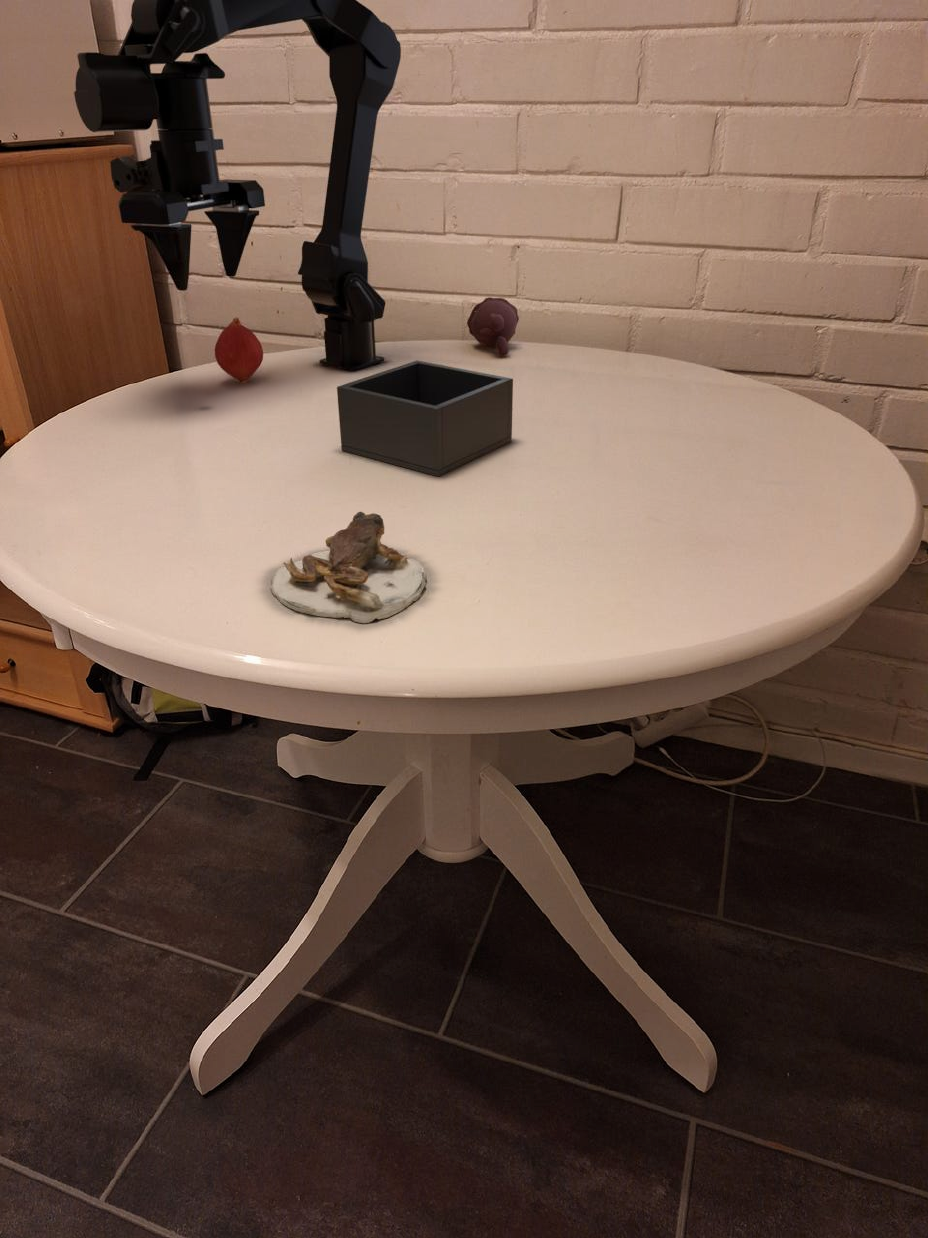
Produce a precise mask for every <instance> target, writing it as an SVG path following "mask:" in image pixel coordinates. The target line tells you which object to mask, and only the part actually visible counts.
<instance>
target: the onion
mask: <svg viewBox="0 0 928 1238" xmlns="http://www.w3.org/2000/svg"><path fill="white" fill-rule="evenodd" d="M260 341H261V340H259V339H258V337H257V335H256V334H255V333H254V332H253V331H252V330H251V329H249V328H247V327H246V326H244V325H243V324H242V323H241V321H240V318H239V317H233V319H232V321H231V322H229V324H228V325H227V326H226V327H225V328H224V329H223V330H222V331H221V333H220V334H219V336H218V338H217V341H216V342H215V346H214V357H215V360H216V363H217V364H218V366H219V367H220V369H222V370H223V371H224V373H226V374H227V375H229V376H230V377H232V378H233V379H235V380H236V381H238V382H239V383H241V384H242V383H247V382H248V381H249V380H250V378H251V377H252V376H253V375H254V374H255V373H256V371H258V369H259V368H260V367H261V364H262V362H263V360H264V349H263V347H262V344H261V342H260Z"/></svg>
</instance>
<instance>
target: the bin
mask: <svg viewBox="0 0 928 1238" xmlns="http://www.w3.org/2000/svg"><path fill="white" fill-rule="evenodd" d="M513 392H514V378H513V377H507V376H501V375H495V374H490V373H485V372H480V371H475V370H470V369H465V368H459V367H454V366H450V365H449V366H448V365H443V364H438V363H433V362H427V361H423V360H417V359H416V360H414V361H411V362H408V363H405V364H402V365H399V366H395V367H393V368H390V369H387V370H384V371H381V372H378V373H375V374H372V375H368V376H365V377H363V378H359V379H356V380H354V381H351V382H348V383H347V382H346V383H344V384H341V385H338V386H336V393H337V406H338V407H337V408H338V418H339V433H340V448H341V451H343V452H347V453H350V454H353V455H358V456H361V457H365V458H369V459H372V460H376V461H380V462H383V463H387V464H389V465H395V466H398V467H402V468H405V469H409V470H413V471H416V472H420V473H424V474H427V475H431V476H435V477H440V476H442V475H444V474H447V473H449V472H451V471H452V470H454V469H457V468H460V466H463V465H465V464H467V463H469V462H472V461H474V460H476V459H477V458H480V457H481V456H484V455H486V454H488V453H490V452H492V451H494V450H496V449H499V448H501V447H503V446H504V445H506V444H508V443H510V442H512V440H513V403H514V401H513V398H514V393H513Z"/></svg>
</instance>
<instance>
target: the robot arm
mask: <svg viewBox="0 0 928 1238" xmlns="http://www.w3.org/2000/svg"><path fill="white" fill-rule="evenodd" d="M130 11H131V12H130V19H131V23H130V26H129V28H128V29H127V32H126V35H125V37H124V39H123V42H122V44H121V45H120V48H119V50H118V53H117V55H116V54H104V53H101V52H96V51H95V52H91V51H87V52H78V53H77V55H76V57H77V63H78V69H77V71H76V74H75V90H74V92H73V95H74V100H75V105H76V108H77V109H76V110H77V111H78V114H79V117H80V119H81V121H82V123H83V124H84V126H85V127H86V128H87V129H88V130H89V132H92V133H106V132H107V133H110V132H112V133H113V132H133V131H135V132H137V131H147V130H149V129H151V127H152V125H153V122H154V120H155V121H156V128H157V135H158V139H157V140H150V144H149V152H150V157H148V158H146V159H144V160H137V161H135V160H134V159H133V157H131V156H129V155H127V156H126V155H125V156H117V157H116V158H113V159H111V160H110V161H109V164H110V165H109V166H110V174H111V175H110V176H111V180H112V183H113V187H114V189H115V190H116V191H117V192H119V193H121V194H122V195H121V197H120V198H119V200H118V202H117V206H118V210H119V216H120V222H121V223H122V224H130V227H131V229H132V230H133V231H135V232H140V233H141V234H143V235H144V236H145V237H146V238H147V239H148V240H150V241H151V243H152V244H153V246H154V248H155V250H156V251H157V252H158V254H159V256H160V259H161V261H162V262H163V264H164V266H165V268H166V270H167V272H168V274H169V276H170V278H171V280H172V282H173V284H174V286H175V288H176V290H177V291H182V292H185V291H188V287H189V277H190V263H191V260H190V259H191V245H192V227H193V225H192V224H191V223H184V222H186V220H187V218H188V216H189V212H194V211H198V210H204V214H205V215H206V217H207V218H208V219H209V220H210V222H211V223H212V224H213V226H214V227H215V230H216V236H217V241H218V247H219V251H220V255H221V262H222V265H223V269H224V273H225V276H227V277H231V278H233V277H236V275H237V272H238V269H239V266H240V263H241V260H242V257H243V254H244V250H245V247H246V245H247V241H248V238H249V236H250V233H251V231H252V228H253V225H254V223H255V220H256V218H257V217H259V216H260V210H257V208H262V207H266V201H265V193H264V188H263V187H262V186H261V185H260V183H259V182H258V181H257V180H256V179H229V178H227V179H225V178H224V179H220V171H219V164H218V157H217V151H222V150H223V151H224V150H225V148H224V147H225V146H224V141H223V140H224V139H223V138H215V135H214V134H215V133H214V127H213V119H212V112H211V104H210V96H209V88H208V80H224V79H225V77H226V72H225V71H224V70H223V69H222V68H221V67H220V66H219V65H217V64H216V63H215V62H214V61H213V60H212V59H211V57H210V56H209V54H208V53H207V52H199V51H201V50H203V49H205V48H207V47H209V46H212V45H214V44H216V43H219V42H220V41H221V40H223V39H224V38H226V37H227V36H229V35H231V34H233V33H236V32H239V31H243V30H250V29H256V28H260V27H267V26H272V25H277V24H282V23H284V24H285V23H290V22H294V21H300V20H302V21H303V22H304V23H305V24H306V26H307V29H308V31H309V33H310V35H311V37H312V39H313V41H314V43H315V44H316V45H317V46H318V48H319V49H320V50H322V52H323V53H324V54H326V56H328V61H329V63H328V65H329V67H328V70H329V71H328V73H329V75H328V76H329V77H328V78H329V80H330V83H331V86H332V89H333V93H334V96H335V99H336V112H335V120H334V128H333V129H334V130H333V136H332V143H331V144H332V145H331V146H332V147H331V153H330V159H329V160H330V161H329V169H328V176H327V184H326V193H325V200H324V210H323V217H322V225H321V228H320V232H319V233H318V235H317V236H316V238H315V239H314V241H309V240H304V241H303V243H302V246H301V263H300V266H299V269H298V271H297V275H298V276H301V288H302V291H304V293H305V295H306V296H307V298H308V299H309V300H310V301H311V304H312V306H313V309H314V311H315V314H317V315H324V316H327V317H324V331H323V340H324V351H325V352H324V353H325V357H324V358H321V359H319V360H318V361H319V362H318V363H319V365H324V366H329V367H333V368H339V369H342V370H343V369H344V370H348V371H356V370H360V369H363V368H366V367H367V368H368V367H370V366H374V365H376V364H380V363H383V362H385V356H382V355H377V353H376V350H377V349H376V333H375V321H376V320H380V319H383V317H384V313H385V308H386V301H385V299H384V298H383V297H382V296H381V295H380V294H379V293H378V292H377V290H376V289H374V287H373V286H372V285H371V284H370V282H369V261H368V257H367V254H366V250H365V248H364V244H363V242H362V231H363V224H364V223H363V221H364V214H365V207H366V202H367V193H368V187H369V186H368V185H369V178H370V172H371V165H372V157H373V151H374V150H373V149H374V142H375V136H376V127H377V120H378V114H379V111H380V110H381V108H382V107H383V105H384V103H385V101H386V100H387V98H388V97H389V95H390V94H391V92H392V90H393V88H394V85H395V82H396V79H397V78H396V77H397V74H398V71H399V67H400V64H401V59H402V57H401V56H402V46H401V42H400V41H399V39H398V37H397V35H396V32H395V31H394V30H393V28H392V27H391V26H390V25H389V24H387V23H386V22H384V21H381V20H380V18H379V17H378V16H377V15H376V14H375V13H374V12H373V11H372V10H371V9H369V8H368V7H366V6H365V5H364V4H363V3H361V2H360V1H358V0H133V2H132V4H131V10H130ZM197 52H198V53H197ZM192 53H194V55H193V57H192V58H191V60H178V59H179V58H180V56H181V55H183V54H192ZM151 65H163V67H162V69H161V72H152V70H151ZM209 208H212V209H210V210H205V209H209Z"/></svg>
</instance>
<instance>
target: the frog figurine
mask: <svg viewBox="0 0 928 1238" xmlns="http://www.w3.org/2000/svg"><path fill="white" fill-rule="evenodd" d="M384 534H385V523H384V519H383V518H382V515H380V514H378V513H375V512H373V513H369V514H366V513H365V512H363V511H358V512H356V514H354V515H353V518H352V519H351V521H350V522H349V524H348V525H347V527H346V528H344V529H339V530H338V531H336V532H335V533H334V535H332V536H330V537H328V538H325V545H326V547H327V548H329V550H325V551H319V552H313V554H309V555H305V556H303V558H302V559H300V560H298V561H295V562H294V561H293V558H292V557H290V559H289V563H287V562H284V561H283V562H282V564H283V566H281V567H278V568H276V569H275V570H274V572H273V574H272V576H271V578H270V584H271V587H270V590H271V594H273V596H274V597H276V598H277V600H278V601H279V602H280V604H282V605H283V606H285V607H287V608H289V609H291V610H293V611H295V612H298V613H302V614H307V615H312V616H315V617H317V616H318V617H324V618H334V619H336V618H338V619H342V618H344V619H351V620H352V621H353V622H355V623H359V624H369V623H371V622H373V621H374V620H375V619H377V620H378V621H379V620H382V619H383V620H384V619H386V618H390V617H391V616H394V615H396V614H397V613H400V612H402V611H403V610H404V609H406V608H407V607H409V606H410V605H411V604H412V603H413V602H416V601H417V600H419V598H421V596H422V592H423V590H424V588H425V587H426V585H427V582H426V581H427V573H426V571H425V567H424V566H423V565H422V564H421V563H419V562H418V560H416V559H407V557H408V555H407V554H404V553H401V552H399V551H398V550H397V549H394V548H393V547H388V546H387V545H386V544H384V543H382V542H381V539H382V536H383V535H384Z"/></svg>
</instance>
